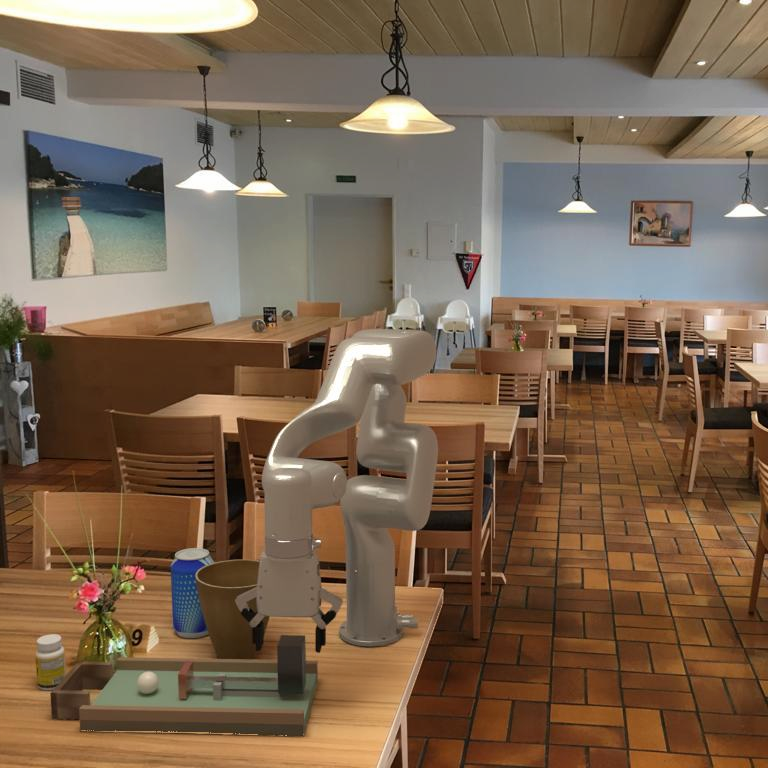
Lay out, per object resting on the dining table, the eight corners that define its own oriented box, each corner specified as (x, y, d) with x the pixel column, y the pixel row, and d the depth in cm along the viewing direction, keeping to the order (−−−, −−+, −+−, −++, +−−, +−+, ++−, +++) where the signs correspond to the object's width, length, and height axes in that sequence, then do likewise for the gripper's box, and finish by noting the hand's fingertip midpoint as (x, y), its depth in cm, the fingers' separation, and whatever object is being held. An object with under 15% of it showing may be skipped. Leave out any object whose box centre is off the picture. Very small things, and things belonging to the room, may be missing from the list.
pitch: (317, 681, 153) (317, 656, 153) (303, 736, 136) (302, 708, 135) (120, 677, 155) (119, 652, 155) (80, 731, 137) (78, 704, 137)
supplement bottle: (42, 678, 155) (39, 633, 154) (69, 677, 155) (67, 632, 154) (33, 692, 150) (30, 645, 149) (62, 690, 151) (59, 644, 149)
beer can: (221, 623, 178) (219, 547, 176) (209, 640, 170) (206, 561, 168) (181, 621, 179) (178, 545, 177) (167, 639, 171) (163, 560, 169)
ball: (162, 687, 147) (161, 668, 147) (155, 698, 144) (154, 677, 143) (141, 687, 147) (140, 667, 147) (134, 697, 144) (133, 677, 143)
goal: (113, 686, 152) (112, 662, 151) (88, 720, 141) (87, 694, 140) (79, 686, 152) (78, 661, 152) (51, 719, 141) (50, 693, 140)
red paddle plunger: (306, 686, 147) (305, 634, 145) (302, 701, 142) (301, 647, 141) (186, 684, 148) (184, 632, 146) (178, 698, 143) (176, 645, 142)
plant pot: (216, 680, 154) (213, 593, 152) (186, 649, 166) (183, 567, 164) (292, 659, 162) (291, 576, 160) (259, 631, 174) (257, 553, 172)
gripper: (344, 540, 144) (344, 640, 146) (240, 538, 145) (241, 638, 147) (340, 554, 136) (340, 660, 138) (229, 551, 137) (231, 657, 139)
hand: (289, 648), depth 143 cm, fingers open, 9 cm apart
